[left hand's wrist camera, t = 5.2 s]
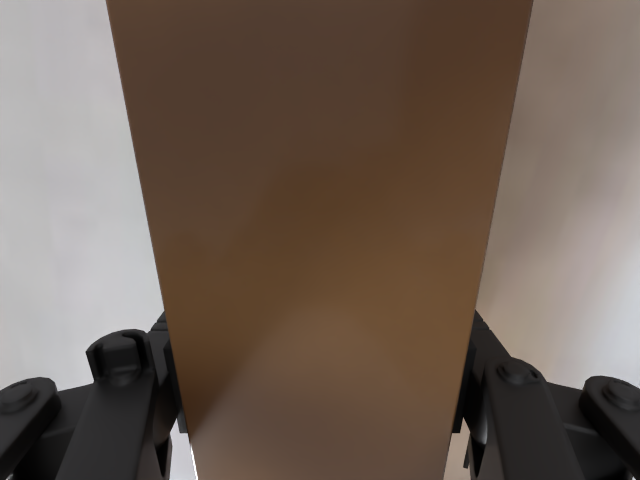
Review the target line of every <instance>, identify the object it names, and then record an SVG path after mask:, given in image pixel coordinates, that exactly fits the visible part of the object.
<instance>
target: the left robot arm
mask: <svg viewBox="0 0 640 480" xmlns="http://www.w3.org/2000/svg"><path fill="white" fill-rule="evenodd" d="M86 355H87V359H88V362H89V365H90V369H91V372H92V375H93V378H94V382H93V383H92V384H89V385H85V386H81V387H76V388H72V389H67V390H63V391H57V388H56V385H55V382H53V381H52V380H51V379H49V378H43V377H37V378H31V379H26V380H23V381H20V382H17V383H14V384H12V385H10V386H8V387H6V388H4V389H2V390H0V480H6V479H7V478H8V480H169V477H170V467H171V456H172V441H171V436H170V431H171V429H172V427H173V425H174V423H175V420H176V418H177V421H178V426H179V431H180V433H188V432H187V427H186V421H185V416H184V411H183V406H182V400H181V395H180V390H179V384H178V379H177V374H176V369H175V363H174V358H173V353H172V348H171V342H170V337H169V332H168V326H167V321H166V316H165V311H164V312H163V313H162V315H161V316H160V317H159V319H158V320H157V323H155V324H154V325H153V327H152V328H151V331H149V332H148V333H146V332H144V331H142V330H137V329H128V330H121V331H117V332H113V333H111V334H108V335H106V336H104V337H102V338H100V339H98V340H97V341H96V342H94V343H93V344H91V346H90V347H89V348H88V349H87V351H86ZM463 417H464V419H465V421H466V423H467V426H468V428H469V430H470V436H469V441H468V445H467V450H466V455H465V459H464V465H463V468H467V469H468V466H470V476H471V480H632V478H633V476H634V478H635V479H636V480H640V389H639V388H637V387H635V386H633V385H632V384H630V383H628V382H625V381H623V380H620V379H616V378H613V377H607V376H593V377H590V378H589V379H587V380H586V381H585V384H584V387H583V390H580V389H575V388H571V387H566V386H561V385H557V384H553V383H550V382H546V380H545V378H544V377H543V375H542V374H541V372H539V371H538V370H537V369H536V368H534V367H533V366H532V365H530V364H528V363H526V362H524V361H522V360H520V359H516V358H513V357H511V356H510V355H509V353H508V352H507V351H506V349H505V348H504V347H503V345H502V344H501V343H500V341H499V340H498V339H497V337H496V336H495V335H494V333H493V332H492V331H491V330H489V327H488V325H487V324H486V323H485V322H483V319H482V317H481V316H480V315H479V313H478V312H477V311H476V310H475V313H474V318H473V324H472V329H471V334H470V340H469V345H468V350H467V355H466V361H465V366H464V371H463V377H462V382H461V387H460V393H459V398H458V403H457V408H456V414H455V419H454V424H453V430H452V433H460V430H461V425H462V420H463Z"/></svg>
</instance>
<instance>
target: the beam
mask: <svg viewBox="0 0 640 480" xmlns="http://www.w3.org/2000/svg"><path fill="white" fill-rule="evenodd" d="M106 4H107V10H108V15H109V20H110V25H111V31H112V36H113V41H114V47H115V52H116V57H117V62H118V68H119V73H120V78H121V83H122V89H123V94H124V99H125V105H126V110H127V115H128V120H129V126H130V131H131V136H132V142H133V147H134V152H135V157H136V163H137V168H138V173H139V179H140V184H141V189H142V194H143V200H144V205H145V210H146V215H147V221H148V226H149V231H150V237H151V242H152V247H153V252H154V258H155V263H156V268H157V274H158V279H159V284H160V289H161V295H162V300H163V305H164V311H165V316H166V321H167V326H168V332H169V337H170V342H171V348H172V353H173V358H174V363H175V369H176V374H177V379H178V384H179V390H180V395H181V400H182V406H183V411H184V416H185V421H186V427H187V432H188V437H189V443H190V448H191V453H192V458H193V464H194V469H195V474H196V480H443V477H444V472H445V467H446V461H447V456H448V451H449V446H450V440H451V435H452V430H453V424H454V419H455V414H456V408H457V403H458V398H459V393H460V387H461V382H462V377H463V371H464V366H465V361H466V355H467V350H468V345H469V340H470V334H471V329H472V324H473V318H474V313H475V308H476V302H477V297H478V292H479V287H480V281H481V276H482V271H483V265H484V260H485V255H486V249H487V244H488V239H489V234H490V228H491V223H492V218H493V212H494V207H495V202H496V196H497V191H498V186H499V181H500V175H501V170H502V165H503V159H504V154H505V149H506V143H507V138H508V133H509V128H510V122H511V117H512V112H513V106H514V101H515V96H516V90H517V85H518V80H519V75H520V69H521V64H522V59H523V53H524V48H525V43H526V37H527V32H528V27H529V22H530V16H531V11H532V6H533V0H106Z"/></svg>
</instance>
